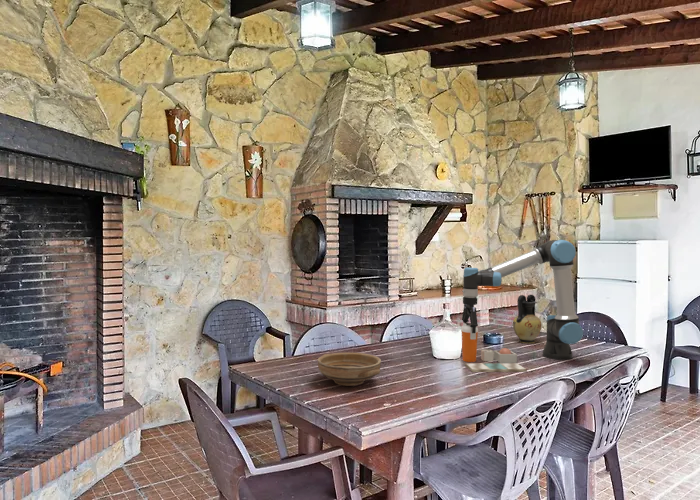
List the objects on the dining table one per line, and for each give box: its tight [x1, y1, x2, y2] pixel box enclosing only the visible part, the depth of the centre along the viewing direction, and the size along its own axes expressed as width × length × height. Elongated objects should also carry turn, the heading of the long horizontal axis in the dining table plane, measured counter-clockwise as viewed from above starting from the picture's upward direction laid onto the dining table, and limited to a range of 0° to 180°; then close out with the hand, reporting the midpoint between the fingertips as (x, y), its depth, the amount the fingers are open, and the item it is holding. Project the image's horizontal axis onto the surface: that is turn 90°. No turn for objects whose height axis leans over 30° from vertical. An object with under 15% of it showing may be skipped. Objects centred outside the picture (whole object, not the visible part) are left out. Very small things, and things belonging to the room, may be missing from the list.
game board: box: [464, 362, 528, 373], centre depth 249 cm, size 27×12×1 cm, turn 93°
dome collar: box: [493, 350, 518, 364], centre depth 265 cm, size 9×9×4 cm
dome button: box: [498, 347, 512, 354], centre depth 265 cm, size 6×6×6 cm
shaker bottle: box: [460, 322, 479, 363], centre depth 265 cm, size 9×9×20 cm
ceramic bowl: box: [316, 352, 382, 387], centre depth 223 cm, size 37×29×10 cm
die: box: [480, 349, 494, 362], centre depth 267 cm, size 5×5×5 cm
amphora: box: [512, 294, 542, 344], centre depth 315 cm, size 18×17×30 cm
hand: (469, 336), depth 265 cm, fingers open, 13 cm apart
